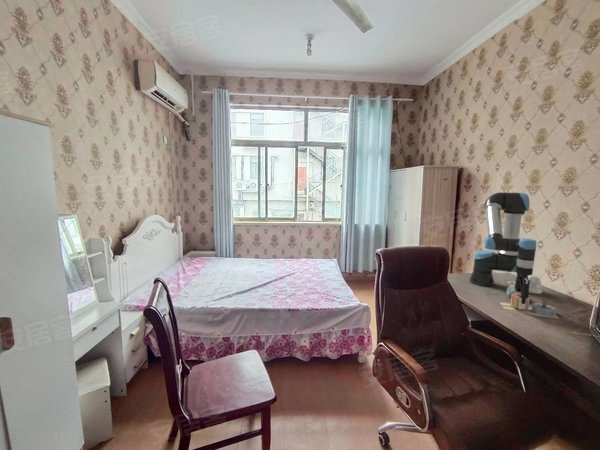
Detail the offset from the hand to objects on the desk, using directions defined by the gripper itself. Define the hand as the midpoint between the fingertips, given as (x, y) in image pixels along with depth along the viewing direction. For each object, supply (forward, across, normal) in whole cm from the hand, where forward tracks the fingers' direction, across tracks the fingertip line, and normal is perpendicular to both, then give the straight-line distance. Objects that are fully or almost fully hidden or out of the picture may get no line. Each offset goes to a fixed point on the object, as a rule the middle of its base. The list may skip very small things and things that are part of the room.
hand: (519, 305), depth 166 cm
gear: (+2, 0, +11) cm, 11 cm away
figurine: (+3, -40, +18) cm, 44 cm away
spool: (+3, -19, +2) cm, 19 cm away
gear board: (+3, 0, +4) cm, 5 cm away
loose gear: (0, 0, 0) cm, 0 cm away
